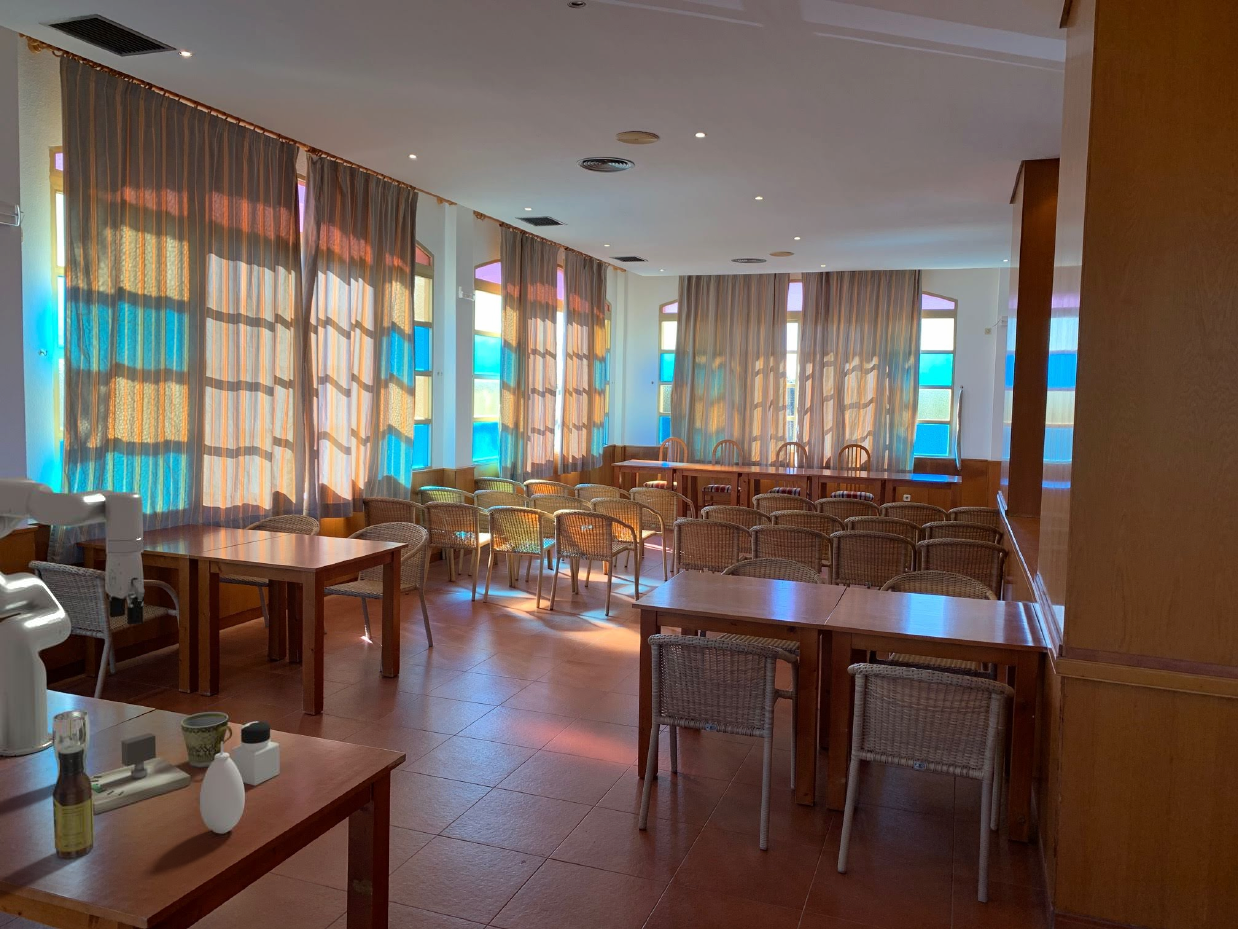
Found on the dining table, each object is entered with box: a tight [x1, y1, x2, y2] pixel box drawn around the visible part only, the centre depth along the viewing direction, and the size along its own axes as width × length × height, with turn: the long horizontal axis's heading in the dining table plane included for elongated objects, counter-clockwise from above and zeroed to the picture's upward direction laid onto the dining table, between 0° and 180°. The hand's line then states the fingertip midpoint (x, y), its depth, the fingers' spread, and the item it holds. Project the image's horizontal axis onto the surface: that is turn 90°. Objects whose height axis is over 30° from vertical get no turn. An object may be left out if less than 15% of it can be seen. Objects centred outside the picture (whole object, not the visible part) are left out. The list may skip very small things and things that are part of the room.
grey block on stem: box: [100, 732, 157, 788], centre depth 193 cm, size 3×11×8 cm, turn 145°
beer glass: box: [51, 709, 91, 784], centre depth 196 cm, size 7×7×15 cm
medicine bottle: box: [231, 720, 280, 787], centre depth 201 cm, size 7×7×12 cm
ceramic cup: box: [180, 711, 233, 768], centre depth 208 cm, size 13×10×10 cm
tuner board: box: [89, 756, 191, 815], centre depth 194 cm, size 15×19×2 cm
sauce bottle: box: [52, 745, 95, 859], centre depth 166 cm, size 7×6×20 cm
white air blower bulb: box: [199, 741, 246, 835], centre depth 176 cm, size 8×8×18 cm
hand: (126, 620), depth 209 cm, fingers open, 9 cm apart
